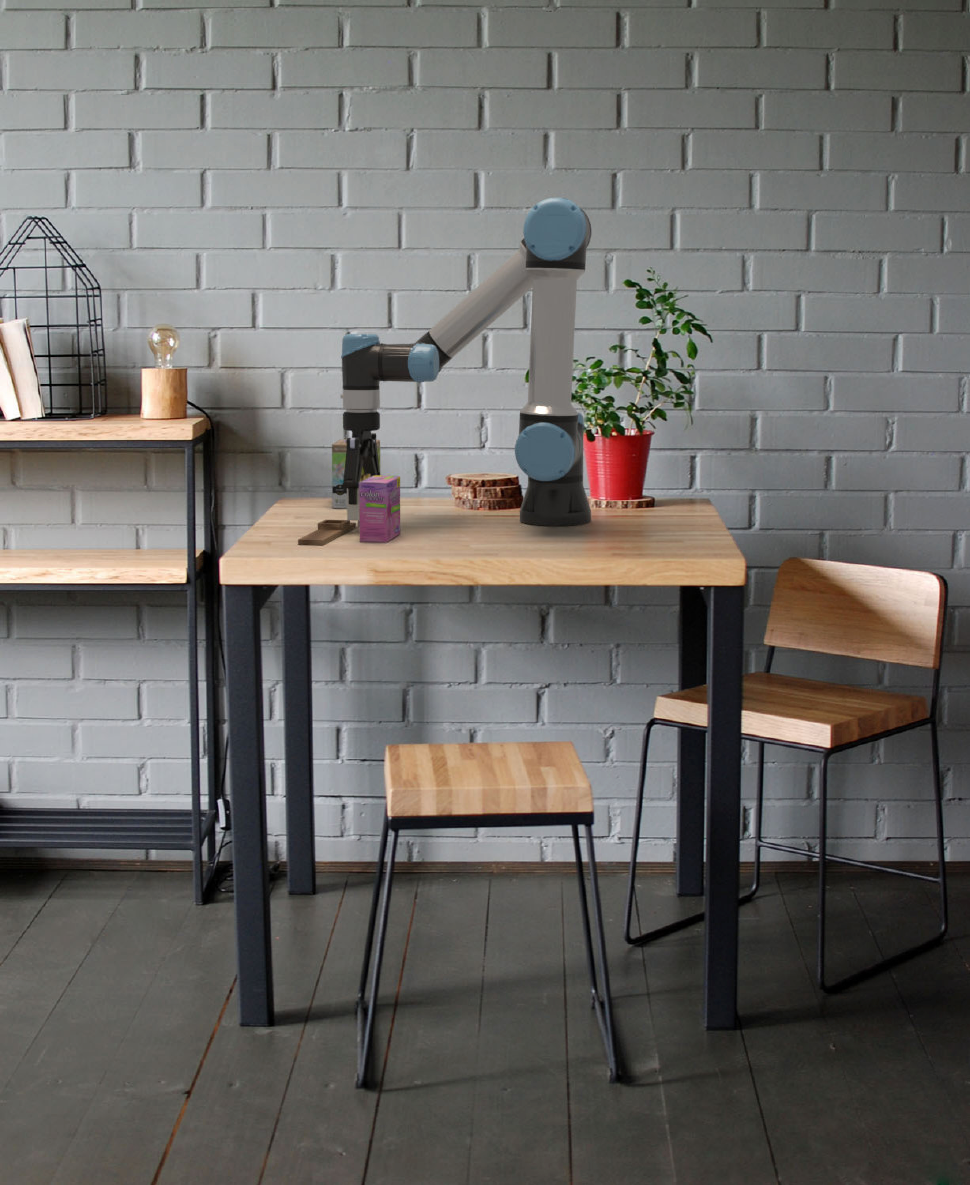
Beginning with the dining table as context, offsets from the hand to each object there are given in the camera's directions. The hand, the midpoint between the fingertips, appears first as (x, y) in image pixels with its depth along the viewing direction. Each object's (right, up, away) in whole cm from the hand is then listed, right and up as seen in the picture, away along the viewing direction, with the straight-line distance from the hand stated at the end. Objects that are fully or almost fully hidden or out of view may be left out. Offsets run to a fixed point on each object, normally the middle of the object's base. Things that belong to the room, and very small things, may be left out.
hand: (362, 516), depth 274 cm
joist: (-6, -4, -10) cm, 12 cm away
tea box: (-4, +4, +34) cm, 34 cm away
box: (+5, -5, -13) cm, 15 cm away
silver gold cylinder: (0, -2, +1) cm, 2 cm away
